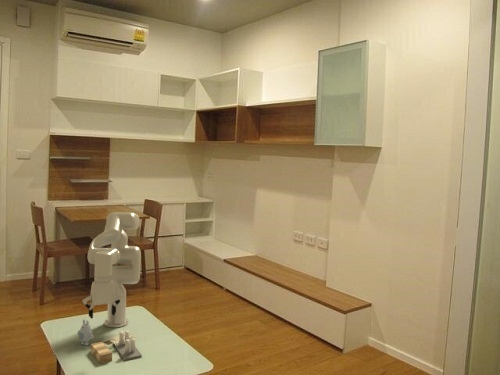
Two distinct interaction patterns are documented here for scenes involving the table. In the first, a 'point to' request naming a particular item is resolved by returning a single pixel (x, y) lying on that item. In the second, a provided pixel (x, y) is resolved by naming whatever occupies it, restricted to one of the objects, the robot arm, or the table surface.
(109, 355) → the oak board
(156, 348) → the table surface
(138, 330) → the table surface
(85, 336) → the toy figure
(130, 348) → the peg stand
